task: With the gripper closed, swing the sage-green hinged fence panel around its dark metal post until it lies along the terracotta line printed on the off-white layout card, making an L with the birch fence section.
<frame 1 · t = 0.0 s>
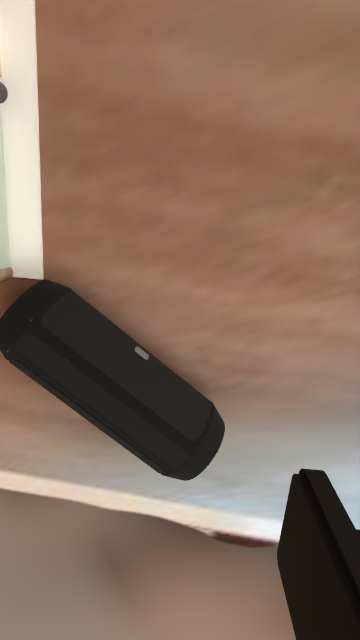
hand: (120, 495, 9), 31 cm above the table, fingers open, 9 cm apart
portable speaker: (125, 363, 42), on the table
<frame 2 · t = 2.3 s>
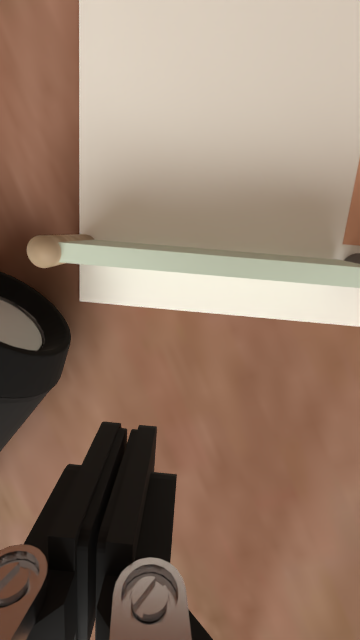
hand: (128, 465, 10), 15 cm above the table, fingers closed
layout card: (355, 100, 20), on the table
folding fence panel: (204, 260, 19), point 4 cm above the table, hinge at 0.0°
fixed fence section: (353, 267, 23), resting on layout card
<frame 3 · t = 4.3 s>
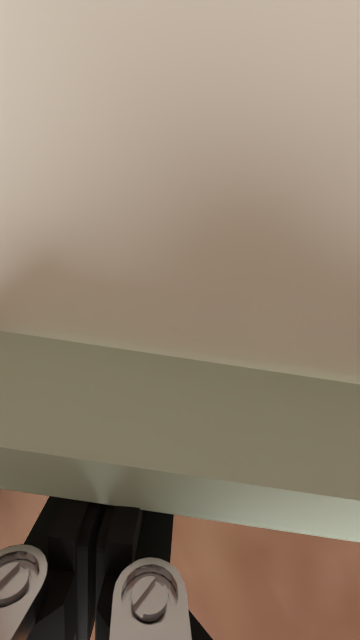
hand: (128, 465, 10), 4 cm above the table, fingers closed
folding fence panel: (182, 418, 9), point 4 cm above the table, hinge at -2.9°, touching gripper
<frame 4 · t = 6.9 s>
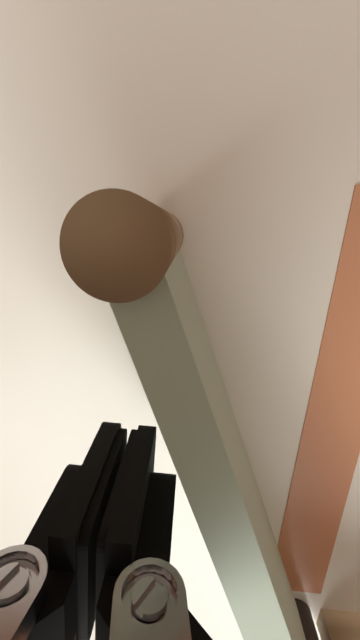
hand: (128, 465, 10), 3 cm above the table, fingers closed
layout card: (280, 421, 13), on the table
folding fence panel: (240, 508, 10), point 4 cm above the table, hinge at -66.5°, touching gripper
fixed fence section: (287, 605, 16), resting on layout card
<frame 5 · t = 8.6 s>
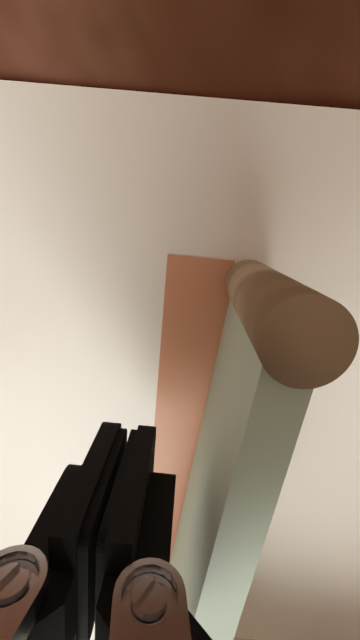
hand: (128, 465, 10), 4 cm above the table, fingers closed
layout card: (133, 460, 15), on the table
folding fence panel: (203, 547, 11), point 4 cm above the table, hinge at -95.3°, touching gripper
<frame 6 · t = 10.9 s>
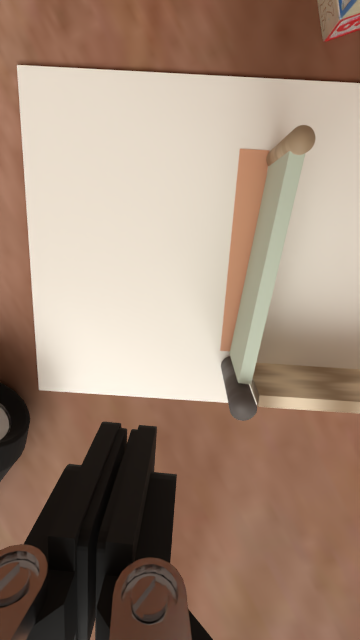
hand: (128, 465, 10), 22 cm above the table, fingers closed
layout card: (219, 260, 30), on the table
folding fence panel: (262, 264, 26), point 4 cm above the table, hinge at -95.4°
fixed fence section: (230, 364, 33), resting on layout card
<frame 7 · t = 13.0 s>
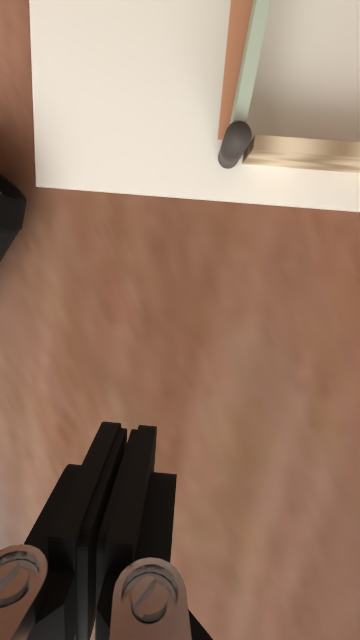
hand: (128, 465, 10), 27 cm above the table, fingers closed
layout card: (218, 35, 30), on the table
folding fence panel: (260, 4, 26), point 4 cm above the table, hinge at -95.4°
fixed fence section: (227, 158, 33), resting on layout card
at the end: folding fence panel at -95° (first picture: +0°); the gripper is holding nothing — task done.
